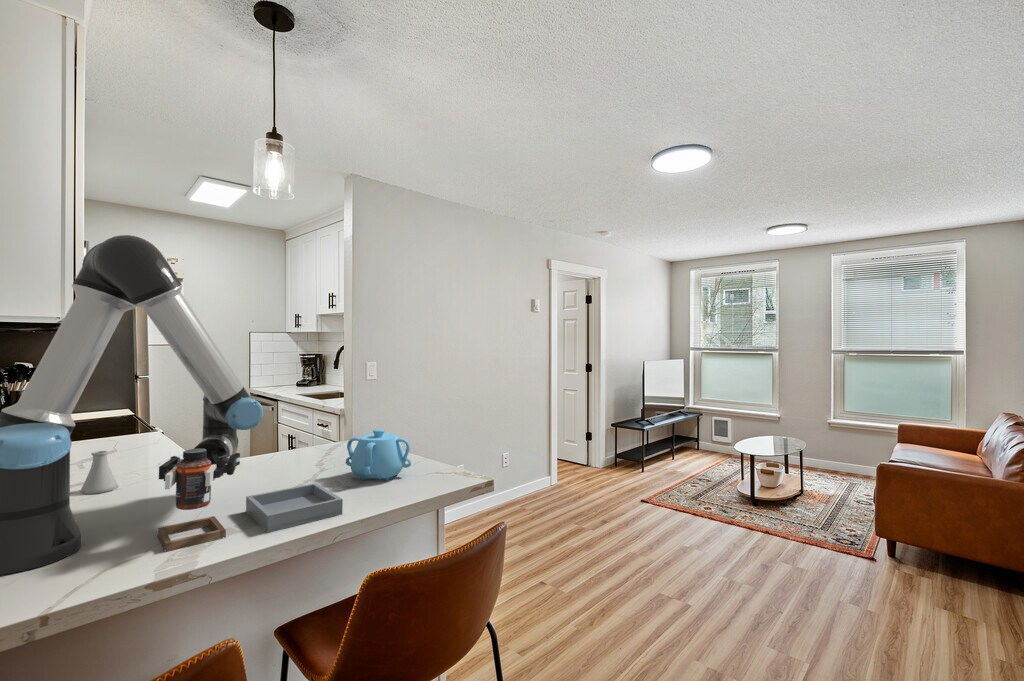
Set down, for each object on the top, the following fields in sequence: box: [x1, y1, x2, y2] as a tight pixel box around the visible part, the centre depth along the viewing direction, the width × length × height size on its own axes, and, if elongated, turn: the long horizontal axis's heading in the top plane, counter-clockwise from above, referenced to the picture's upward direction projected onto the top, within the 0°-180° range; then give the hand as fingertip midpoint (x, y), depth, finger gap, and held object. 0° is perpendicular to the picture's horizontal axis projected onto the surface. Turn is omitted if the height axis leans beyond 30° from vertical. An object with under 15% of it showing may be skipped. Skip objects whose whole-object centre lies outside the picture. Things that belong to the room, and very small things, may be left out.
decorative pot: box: [345, 428, 412, 481], centre depth 142 cm, size 16×16×14 cm
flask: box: [79, 450, 119, 495], centre depth 125 cm, size 7×7×10 cm
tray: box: [245, 482, 344, 533], centre depth 112 cm, size 16×16×4 cm
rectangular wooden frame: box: [157, 515, 227, 553], centre depth 98 cm, size 10×10×2 cm
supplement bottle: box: [175, 448, 212, 511], centre depth 98 cm, size 6×6×11 cm
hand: (188, 480), depth 93 cm, fingers closed on supplement bottle, 6 cm apart
